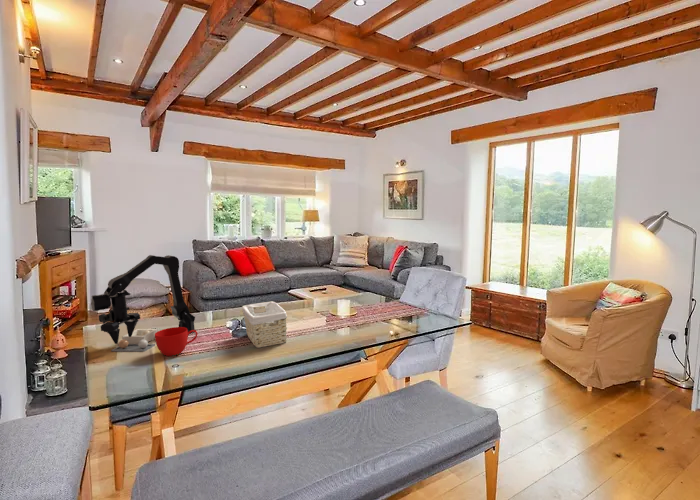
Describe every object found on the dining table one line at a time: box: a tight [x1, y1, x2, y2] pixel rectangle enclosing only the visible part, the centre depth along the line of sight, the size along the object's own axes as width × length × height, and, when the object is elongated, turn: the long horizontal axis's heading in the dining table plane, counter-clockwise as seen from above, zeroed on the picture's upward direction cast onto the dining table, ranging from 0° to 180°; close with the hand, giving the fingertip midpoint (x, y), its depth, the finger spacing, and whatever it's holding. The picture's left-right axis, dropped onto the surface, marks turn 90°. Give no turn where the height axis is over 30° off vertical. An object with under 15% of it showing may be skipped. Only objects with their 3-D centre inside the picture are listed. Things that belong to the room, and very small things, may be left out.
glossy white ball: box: [138, 339, 149, 349], centre depth 185 cm, size 4×4×4 cm
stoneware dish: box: [121, 328, 159, 344], centre depth 197 cm, size 11×11×4 cm
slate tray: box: [111, 343, 156, 353], centre depth 186 cm, size 16×8×1 cm, turn 82°
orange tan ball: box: [118, 339, 129, 348], centre depth 186 cm, size 4×4×4 cm
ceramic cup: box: [154, 326, 198, 357], centre depth 178 cm, size 13×17×10 cm
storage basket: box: [241, 301, 288, 349], centre depth 191 cm, size 24×16×15 cm
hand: (123, 340), depth 186 cm, fingers open, 9 cm apart
